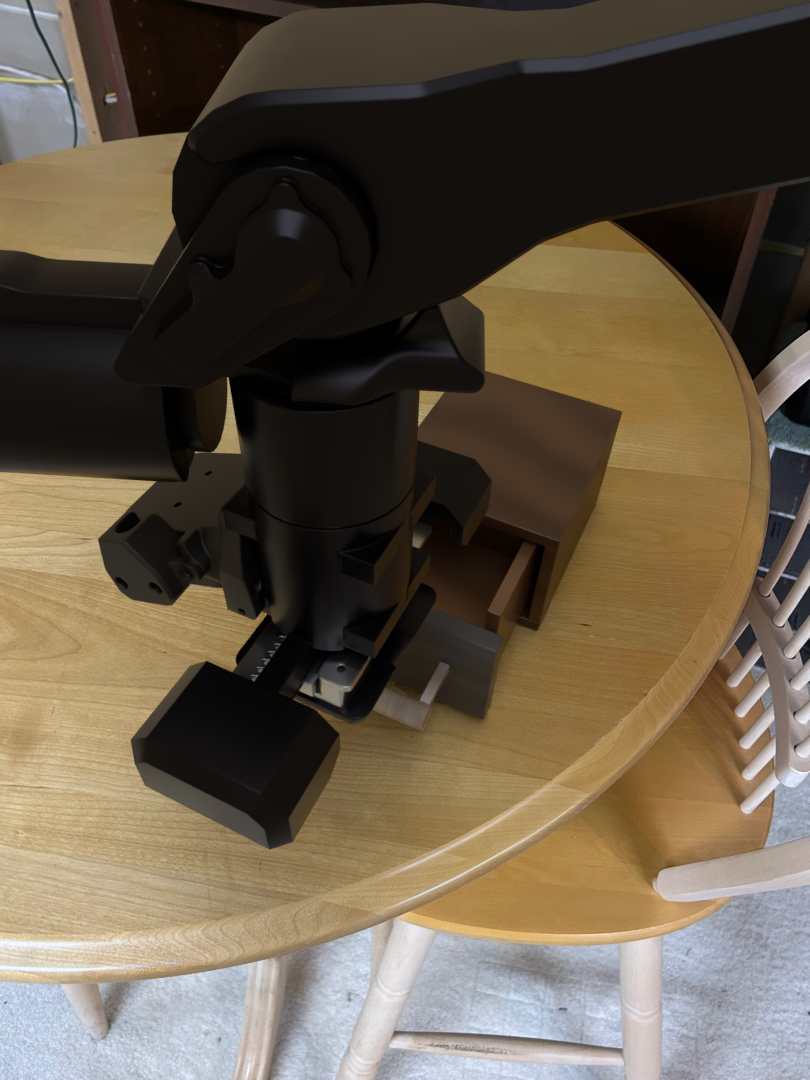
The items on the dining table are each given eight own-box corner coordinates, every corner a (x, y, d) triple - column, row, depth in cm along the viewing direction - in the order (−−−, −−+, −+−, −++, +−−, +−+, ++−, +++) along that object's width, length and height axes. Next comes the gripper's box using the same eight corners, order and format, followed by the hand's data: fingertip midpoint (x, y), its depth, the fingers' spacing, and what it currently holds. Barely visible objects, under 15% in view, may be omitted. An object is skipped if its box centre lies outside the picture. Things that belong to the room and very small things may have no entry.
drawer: (454, 781, 44) (465, 716, 39) (290, 707, 47) (281, 637, 42) (551, 574, 54) (569, 502, 49) (413, 524, 57) (416, 451, 52)
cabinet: (537, 631, 52) (559, 541, 46) (378, 570, 55) (379, 478, 49) (596, 502, 61) (622, 410, 54) (455, 455, 64) (464, 364, 58)
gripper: (273, 284, 35) (299, 531, 46) (-71, 575, 23) (77, 810, 35) (514, 352, 32) (478, 599, 43) (256, 728, 20) (300, 930, 32)
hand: (344, 713), depth 38 cm, fingers closed
